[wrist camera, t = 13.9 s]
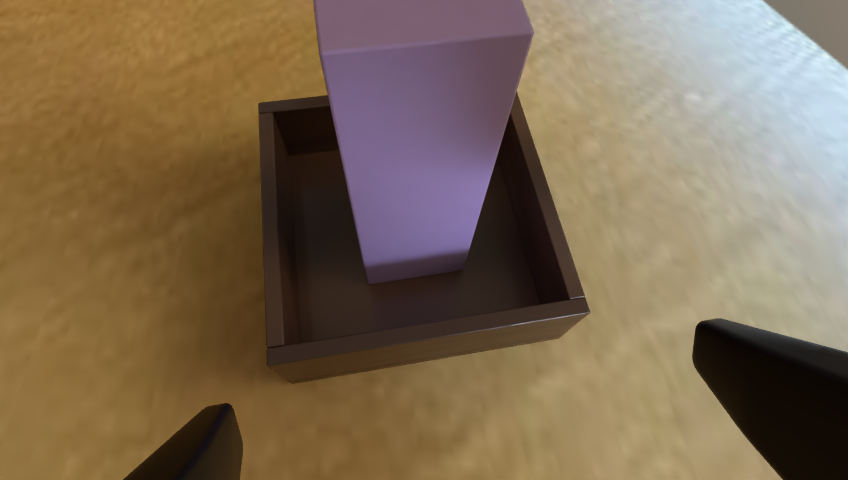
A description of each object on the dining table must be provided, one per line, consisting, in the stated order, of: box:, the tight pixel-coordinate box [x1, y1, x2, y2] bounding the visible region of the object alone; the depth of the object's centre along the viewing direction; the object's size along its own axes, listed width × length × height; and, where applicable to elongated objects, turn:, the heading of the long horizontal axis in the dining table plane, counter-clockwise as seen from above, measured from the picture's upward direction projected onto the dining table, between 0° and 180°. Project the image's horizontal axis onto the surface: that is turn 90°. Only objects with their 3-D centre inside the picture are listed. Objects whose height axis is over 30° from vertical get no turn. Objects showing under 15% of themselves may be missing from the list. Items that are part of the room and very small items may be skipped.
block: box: [313, 0, 534, 284], centre depth 16 cm, size 4×4×13 cm
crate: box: [258, 91, 590, 384], centre depth 20 cm, size 11×11×4 cm
